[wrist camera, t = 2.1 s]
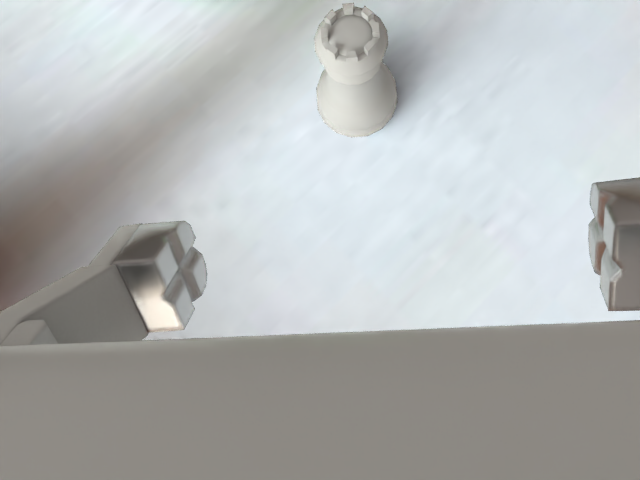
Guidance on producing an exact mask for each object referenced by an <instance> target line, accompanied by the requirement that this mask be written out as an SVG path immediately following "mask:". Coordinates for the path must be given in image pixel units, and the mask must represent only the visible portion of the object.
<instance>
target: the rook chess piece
mask: <svg viewBox="0 0 640 480" xmlns="http://www.w3.org/2000/svg"><path fill="white" fill-rule="evenodd" d="M342 5H343V8H341V9H339V10H337V11H335V12H334V11H333V10H331V11H330V12H329V13H328V14H327V15H326V16H325V17H324V18H325V19H324V20H323V21H322V22H321V24H320V25H319V27H318V29H317V32H316V35H315V38H314V41H315V52H316V54H317V56H318V58H319V60H320V62H321V64H323V66H324V67H325V70H324V71H323V72H322V74H321V77H320V80H319V83H318V85H317V88H316V90H317V107H318V111H319V113H320V115H321V117H322V119H323V121H324V123H325V124H326V125H328V126H329V127H330V128H331V129H332V130H334V131H335V132H336V133H339V134H342V135H345V136H348V137H362V136H368V135H370V134H373V133H375V132H377V131H379V130H381V129H382V128H383V127H384V126H385V125H386V124H387V123H388V121H389V120H390V119H391V118H392V117H393V114H394V111H395V108H396V105H397V103H398V102H397V89H396V81H395V79H394V77H393V76H392V74H391V72H390V70H389V68H388V67H387V66H386V65H385V64H384V63H383V62H382V60H383V57H384V55H385V52H386V49H387V46H388V36H387V30H386V28H385V26H384V24H383V22H382V21H381V19H380V18H379V17H377V16H376V15H375V14H374V13H373V12H372V11H371V10H370V9H368V8H367V7H366V6H364V8H359V7H354V3H346V4H342Z"/></svg>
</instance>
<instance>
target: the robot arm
mask: <svg viewBox="0 0 640 480" xmlns="http://www.w3.org/2000/svg"><path fill="white" fill-rule="evenodd" d="M590 206H591V209H592V211H593V214H594V216H595V218H594V219H593V220H592V221H591V222H590V223H589V234H588V241H589V254H590V258H591V263H592V266H593V269H594V272H595V273H597V274H598V275H600V289H601V292H602V294H603V297H604V300H605V303H606V305H607V308H608V311H635V310H640V178H631V179H622V180H614V181H605V182H596V183H593V184H592V186H591V191H590ZM195 239H196V237H195V234H194V232H193V230H192V227H191V225H190V224H189V223H187V222H186V221H175V222H161V223H148V224H134V225H126V226H121V227H119V228H118V229H117V231H116V232H115V233H114V234H113V236H112V237H111V238H110V239H109V241H108V242H107V243H106V244H105V245H104V247H103V248H102V249H101V250H100V252H99V253H98V254H97V255H96V257H95V258H94V259H93V260H92V262H91V263H90V264H89V265H88V266H87V267H80V268H79V269H77V270H75V271H73V272H71V273H70V274H68V275H66V276H64V277H62V278H61V279H59V280H57V281H55V282H53V283H52V284H50V285H48V286H46V287H44V288H43V289H41V290H39V291H37V292H35V293H34V294H32V295H30V296H28V297H26V298H25V299H23V300H21V301H19V302H18V303H16V304H14V305H12V306H10V307H9V308H7V309H5V310H3V311H1V312H0V480H640V320H633V321H609V322H584V323H560V324H535V325H510V326H486V327H461V328H437V329H412V330H388V331H363V332H338V333H314V334H289V335H264V336H240V337H215V338H190V339H166V340H142V339H144V338H145V337H146V336H147V335H148V332H162V331H176V330H184V329H185V327H186V325H187V324H188V322H189V320H190V318H191V316H192V314H193V312H194V310H195V308H194V306H193V303H192V302H193V301H195V300H196V299H198V298H199V297H200V296H202V294H203V292H204V290H205V287H206V281H207V270H206V264H205V261H204V258H203V255H202V254H201V253H200V252H199V251H197V250H196V249H195V248H194V247H193V244H194V241H195Z"/></svg>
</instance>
